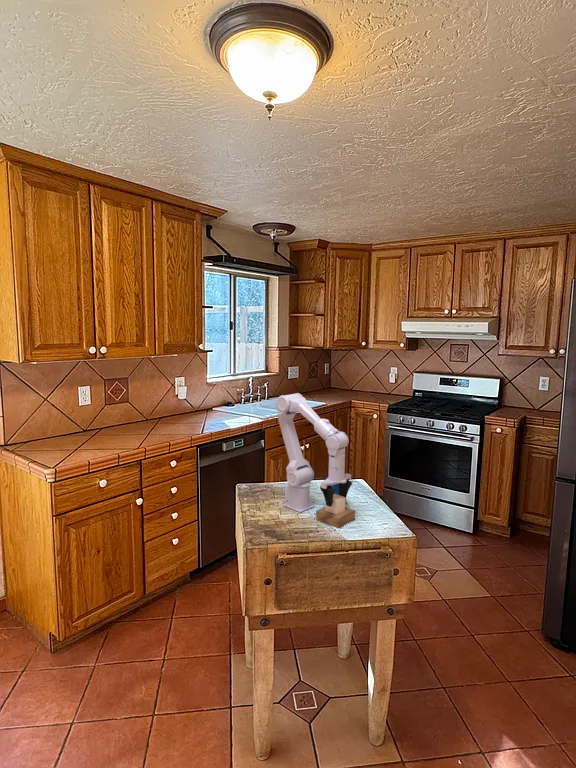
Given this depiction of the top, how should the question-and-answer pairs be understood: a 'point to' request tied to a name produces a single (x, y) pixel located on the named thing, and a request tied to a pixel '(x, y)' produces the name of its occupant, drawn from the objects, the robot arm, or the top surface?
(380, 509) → the top surface
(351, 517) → the walnut box
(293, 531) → the top surface
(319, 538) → the top surface
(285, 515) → the top surface
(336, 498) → the cube
